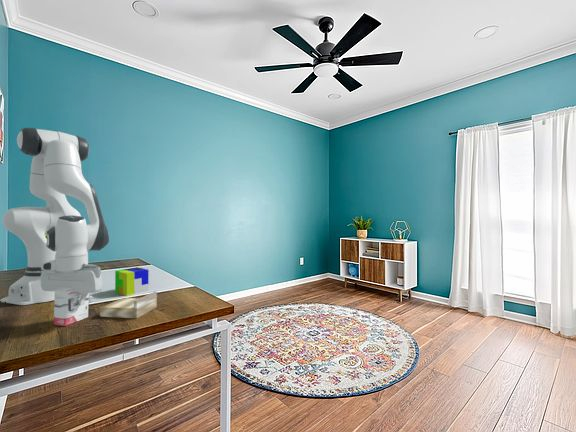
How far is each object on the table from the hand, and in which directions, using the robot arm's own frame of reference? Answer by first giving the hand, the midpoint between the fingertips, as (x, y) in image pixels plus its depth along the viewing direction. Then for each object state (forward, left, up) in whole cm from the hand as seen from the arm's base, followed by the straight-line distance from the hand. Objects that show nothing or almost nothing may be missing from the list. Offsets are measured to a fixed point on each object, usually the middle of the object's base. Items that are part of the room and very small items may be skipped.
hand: (72, 304), depth 95 cm
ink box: (0, 0, -6) cm, 6 cm away
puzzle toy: (-4, +36, -6) cm, 37 cm away
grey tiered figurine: (-8, +13, -6) cm, 16 cm away
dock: (+13, +11, -6) cm, 18 cm away
